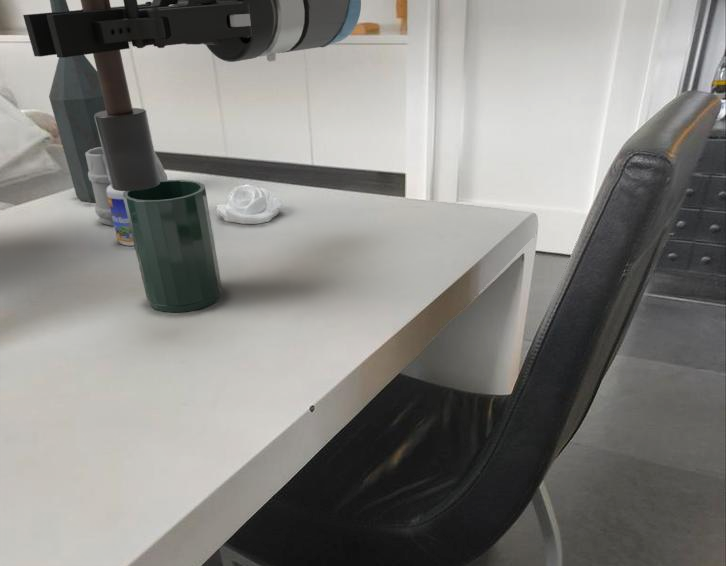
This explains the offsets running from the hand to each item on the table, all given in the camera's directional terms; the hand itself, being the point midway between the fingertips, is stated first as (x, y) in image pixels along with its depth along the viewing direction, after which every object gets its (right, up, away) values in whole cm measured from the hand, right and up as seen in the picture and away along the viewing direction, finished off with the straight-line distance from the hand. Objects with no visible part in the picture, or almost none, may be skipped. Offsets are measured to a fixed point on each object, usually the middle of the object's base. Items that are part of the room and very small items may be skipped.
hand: (43, 36), depth 52 cm
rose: (+7, +7, +54) cm, 55 cm away
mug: (-11, +7, +55) cm, 56 cm away
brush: (+3, -7, +11) cm, 13 cm away
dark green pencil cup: (+4, -12, +28) cm, 31 cm away
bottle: (-20, +16, +67) cm, 71 cm away
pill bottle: (-8, 0, +46) cm, 47 cm away
